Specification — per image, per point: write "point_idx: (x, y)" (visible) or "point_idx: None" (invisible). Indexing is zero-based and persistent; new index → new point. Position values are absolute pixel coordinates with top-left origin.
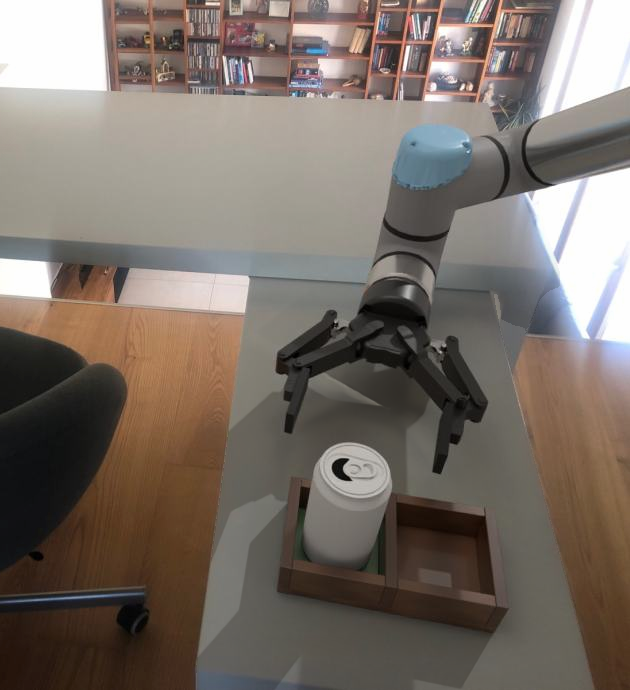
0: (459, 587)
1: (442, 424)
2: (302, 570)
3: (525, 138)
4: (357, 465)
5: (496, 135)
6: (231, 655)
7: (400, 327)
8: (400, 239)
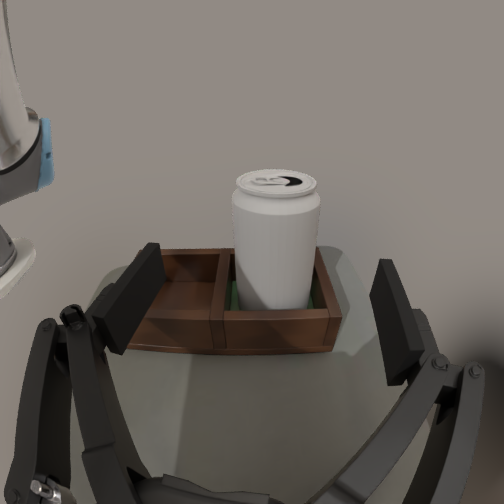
0: (162, 296)
1: (130, 286)
2: None
3: None
4: (274, 184)
5: None
6: (327, 249)
7: None
8: None
